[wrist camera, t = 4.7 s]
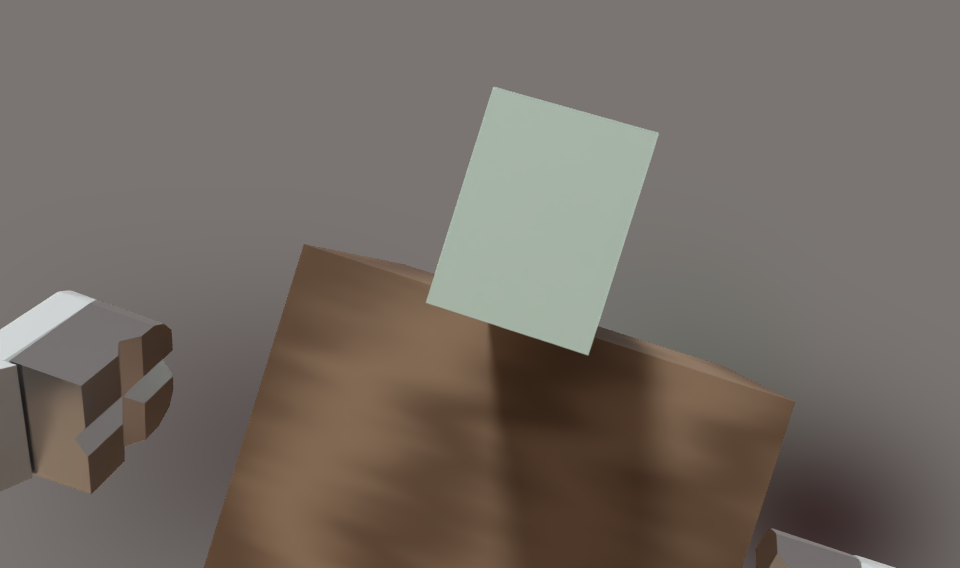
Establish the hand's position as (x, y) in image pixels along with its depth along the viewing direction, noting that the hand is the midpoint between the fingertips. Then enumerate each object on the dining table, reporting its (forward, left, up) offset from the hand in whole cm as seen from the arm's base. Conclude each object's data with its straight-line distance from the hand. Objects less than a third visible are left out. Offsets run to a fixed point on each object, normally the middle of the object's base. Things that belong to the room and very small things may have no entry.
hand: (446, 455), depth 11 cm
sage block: (0, -14, +2) cm, 14 cm away
